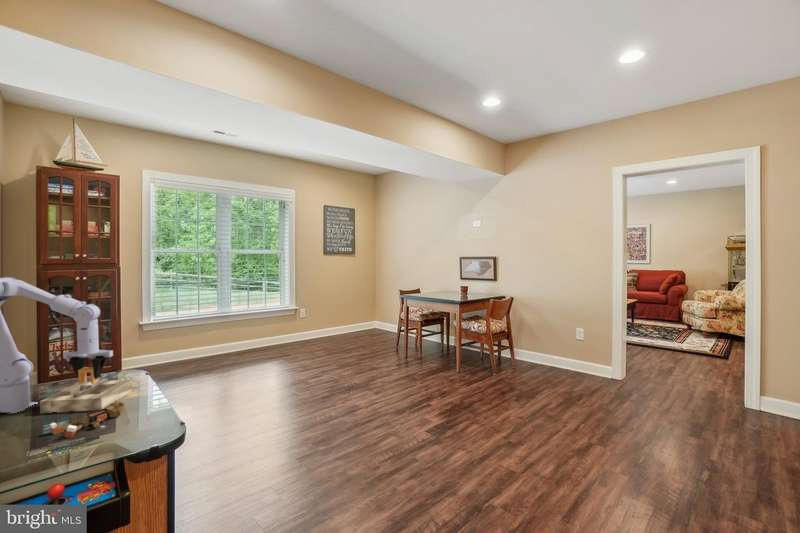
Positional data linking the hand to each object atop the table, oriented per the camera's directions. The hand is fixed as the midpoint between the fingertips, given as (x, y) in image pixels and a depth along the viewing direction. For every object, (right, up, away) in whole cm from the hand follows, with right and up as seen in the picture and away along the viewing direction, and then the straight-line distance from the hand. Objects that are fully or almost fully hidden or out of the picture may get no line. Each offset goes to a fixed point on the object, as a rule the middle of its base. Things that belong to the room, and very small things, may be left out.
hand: (89, 377), depth 131 cm
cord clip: (0, -2, 0) cm, 2 cm away
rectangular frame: (0, -8, 0) cm, 8 cm away
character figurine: (+15, -9, -17) cm, 25 cm away
